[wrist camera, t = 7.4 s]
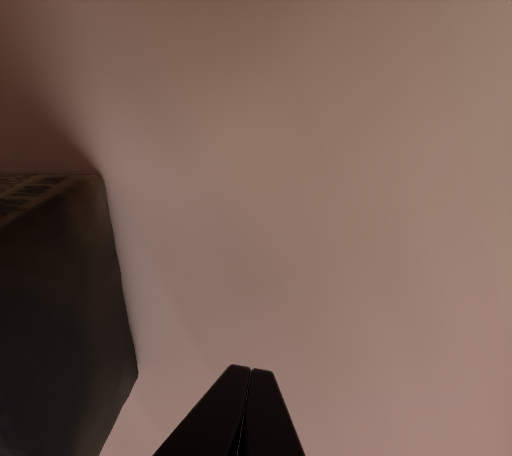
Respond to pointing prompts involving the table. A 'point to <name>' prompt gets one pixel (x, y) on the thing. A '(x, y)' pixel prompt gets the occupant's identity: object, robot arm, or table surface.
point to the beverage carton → (60, 317)
